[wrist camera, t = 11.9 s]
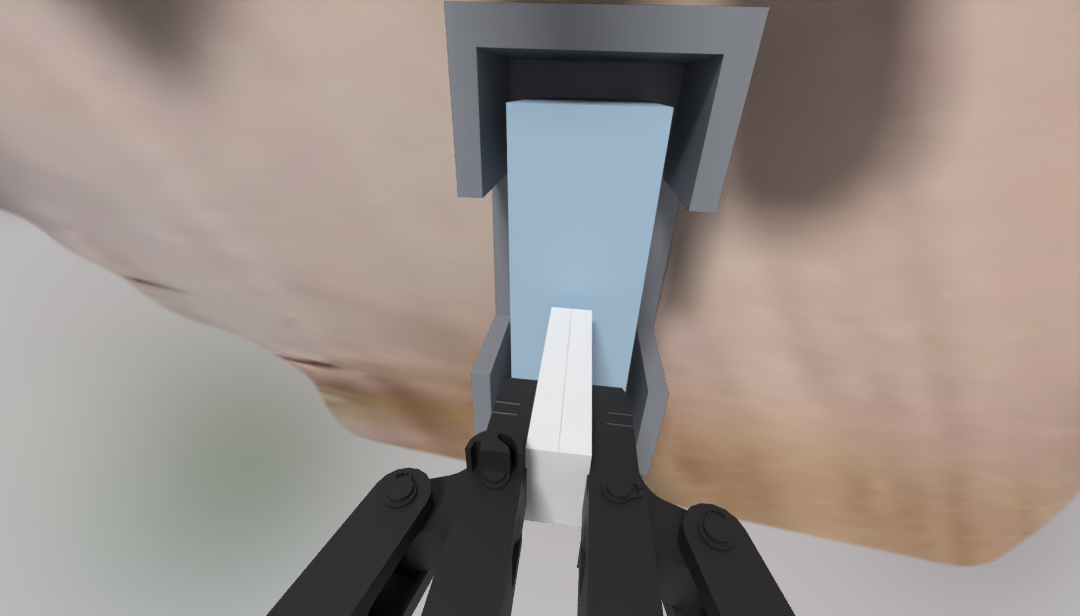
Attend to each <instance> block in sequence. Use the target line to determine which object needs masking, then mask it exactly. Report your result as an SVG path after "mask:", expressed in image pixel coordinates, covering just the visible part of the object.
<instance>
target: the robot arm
mask: <svg viewBox="0 0 1080 616" xmlns="http://www.w3.org/2000/svg"><path fill="white" fill-rule="evenodd" d="M465 453H466V463H467V468H466V469H465V470H463V471H461V472H459V473H457V474H453V475H449V476H444V477H438V478H433V479H429V478H428V476H427V474H425V473H424V472H422V471H421V470H419V469H414V468H404V469H398V470H396V471H394V472H392V473H389V474H387V475H386V476H384V478H382V479H381V480H380V481H379V482H378V483H377V484H376V485H375V486H374V487H373V489H372V490H371V491H370V492H369V493H368V495H367V496H366V497H365V498H364V499H363V501H362V502H361V503H360V504H359V505H358V507H357V508H356V509H355V510H354V511H353V513H352V514H351V515H350V516H349V517H348V519H347V520H346V521H345V522H344V523H343V524H342V526H341V527H340V528H339V529H338V530H337V532H336V533H335V534H334V535H333V537H332V538H331V539H330V540H329V541H328V542H327V544H326V545H325V546H324V547H323V548H322V550H321V551H320V552H319V553H318V554H317V556H316V557H315V558H314V559H313V560H312V562H311V563H310V564H309V565H308V567H307V568H306V569H305V570H304V571H303V572H302V574H301V575H300V576H299V577H298V578H297V580H296V581H295V582H294V583H293V584H292V586H291V587H290V588H289V589H288V590H287V592H286V593H285V594H284V595H283V596H282V598H281V599H280V600H279V601H278V602H277V603H276V605H275V606H274V607H273V608H272V610H271V611H270V612H269V613H268V614H267V616H412V614H413V612H414V610H415V609H416V607H417V605H418V603H419V601H420V600H421V598H422V596H423V594H424V592H425V591H426V589H427V587H428V585H429V584H430V582H431V580H432V578H433V581H432V584H431V587H430V590H429V593H428V596H427V599H426V602H425V605H424V608H423V612H422V615H421V616H511V610H512V604H513V597H514V590H515V584H516V578H517V570H518V564H519V557H520V551H521V545H522V528H523V521H524V520H529V521H538V522H544V523H552V524H559V525H567V526H574V527H582V529H581V544H580V551H579V557H578V565H577V568H579V582H578V614H577V615H578V616H663V609H662V602H663V605H664V608H665V611H666V614H667V616H795V614H794V612H793V611H792V609H791V607H790V606H789V604H788V602H787V600H786V599H785V597H784V595H783V594H782V592H781V590H780V588H779V587H778V585H777V583H776V582H775V580H774V578H773V576H772V575H771V573H770V571H769V569H768V568H767V566H766V564H765V563H764V561H763V560H762V557H761V556H760V554H759V552H758V551H757V549H756V547H755V545H754V544H753V542H752V540H751V538H750V537H749V535H748V533H747V532H746V530H745V529H744V527H743V526H742V525H741V523H740V522H739V521H738V520H737V518H735V517H734V516H733V515H731V514H730V513H729V512H728V511H726V510H725V509H722V508H720V507H718V506H715V505H713V504H703V503H700V504H697V505H694V506H691V507H690V508H689V509H688V510H685V509H683V508H680V507H678V506H676V505H673V504H671V503H669V502H667V501H665V500H663V499H661V498H659V497H658V496H656V495H655V494H654V493H653V492H651V491H650V490H649V488H648V487H647V486H646V485H645V484H644V482H643V480H642V478H641V476H640V472H639V467H638V459H637V451H636V442H635V434H634V428H633V418H632V409H631V401H630V399H629V397H628V396H627V394H626V393H625V391H624V390H623V388H618V387H609V386H599V385H592V310H581V309H570V308H558V307H552V308H551V313H550V319H549V324H548V330H547V335H546V340H545V346H544V351H543V357H542V362H541V367H540V373H539V378H538V380H530V379H520V378H510V377H509V378H508V379H507V380H506V382H505V383H504V384H503V385H502V386H501V387H500V388H499V391H498V394H497V398H496V402H495V404H494V407H493V411H492V414H491V417H490V420H489V424H488V427H487V430H486V431H483V432H480V433H478V434H477V435H476V436H474V437H473V438H472V439H470V441H469V442H468V444H467V446H466V447H465ZM433 576H434V577H433ZM661 600H662V601H661Z"/></svg>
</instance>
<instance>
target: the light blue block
mask: <svg viewBox="0 0 1080 616" xmlns="http://www.w3.org/2000/svg"><path fill="white" fill-rule="evenodd" d="M673 109H674V107H670V106H666V105H662V104H658V103H654V102H650V101H646V100H629V99H591V98H554V97H536V98H530V99H524V100H519V101H513V102H507V103H506V120H507V171H508V221H509V272H510V323H511V374H512V378H520V379H530V380H538V378H539V373H540V367H541V362H542V357H543V351H544V346H545V340H546V335H547V330H548V324H549V319H550V313H551V308H552V307H558V308H570V309H581V310H592V385H599V386H609V387H618V388H623V390H624V391H626V385H627V380H628V374H629V368H630V362H631V356H632V350H633V344H634V338H635V333H636V327H637V321H638V315H639V309H640V303H641V297H642V291H643V286H644V280H645V274H646V268H647V262H648V256H649V250H650V244H651V239H652V233H653V227H654V221H655V215H656V209H657V203H658V197H659V192H660V186H661V180H662V174H663V168H664V162H665V156H666V150H667V145H668V139H669V133H670V127H671V121H672V115H673Z"/></svg>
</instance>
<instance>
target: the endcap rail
mask: <svg viewBox="0 0 1080 616" xmlns="http://www.w3.org/2000/svg"><path fill="white" fill-rule="evenodd" d="M769 8H770V7H728V6H674V5H620V4H566V3H512V2H458V1H444V10H445V24H446V38H447V52H448V66H449V80H450V93H451V107H452V121H453V135H454V149H455V163H456V177H457V191H458V197H472V198H483V197H484V196H485V195H486V194H487V193H488V192H489V191H490V190H491V189H492V196H493V231H494V267H495V303H496V315H495V318H494V320H493V322H492V325H491V327H490V329H489V332H488V334H487V336H486V339H485V341H484V343H483V346H482V348H481V350H480V353H479V355H478V357H477V360H476V362H475V364H474V367H473V369H472V371H471V386H472V400H473V414H474V427H475V436H476V435H477V434H478V433H480V432H483V431H486V430H487V427H488V424H489V420H490V417H491V414H492V411H493V407H494V404H495V402H496V398H497V394H498V391H499V388H500V387H501V386H502V385H503V384H504V383H505V382H506V380H507V379H508V378H509V377H510V378H512V374H511V323H510V272H509V221H508V171H507V120H506V103H507V102H513V101H519V100H524V99H530V98H536V97H554V98H591V99H629V100H646V101H650V102H654V103H658V104H662V105H666V106H670V107H674V109H673V115H672V121H671V127H670V133H669V139H668V145H667V150H666V156H665V162H664V168H663V174H662V180H661V186H660V192H659V197H658V203H657V209H656V215H655V221H654V227H653V233H652V239H651V244H650V250H649V256H648V262H647V268H646V274H645V280H644V286H643V291H642V297H641V303H640V309H639V315H638V321H637V327H636V333H635V338H634V344H633V350H632V356H631V362H630V368H629V374H628V380H627V385H626V391H625V393H626V394H627V396H628V397H629V399H630V401H631V409H632V418H633V428H634V434H635V442H636V451H637V459H638V467H639V472H640V475H643V476H648V473H649V469H650V466H651V462H652V458H653V454H654V450H655V446H656V442H657V439H658V435H659V431H660V427H661V423H662V419H663V416H664V412H665V408H666V404H667V400H668V396H669V391H668V387H667V383H666V379H665V375H664V371H663V367H662V363H661V359H660V355H659V351H658V347H657V343H656V339H655V335H654V331H653V326H654V321H655V316H656V312H657V307H658V302H659V297H660V293H661V288H662V283H663V278H664V274H665V269H666V264H667V259H668V254H669V250H670V245H671V240H672V235H673V231H674V226H675V221H676V216H677V212H678V207H679V202H680V200H681V202H682V203H683V204H684V205H685V207H686V208H687V209H688V211H694V212H709V213H716V212H717V208H718V204H719V200H720V196H721V192H722V188H723V185H724V181H725V177H726V173H727V169H728V165H729V162H730V158H731V154H732V150H733V146H734V142H735V138H736V135H737V131H738V127H739V123H740V119H741V115H742V112H743V108H744V104H745V100H746V96H747V92H748V88H749V85H750V81H751V77H752V73H753V69H754V65H755V61H756V58H757V54H758V50H759V46H760V42H761V38H762V35H763V31H764V27H765V23H766V19H767V15H768V11H769Z"/></svg>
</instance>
